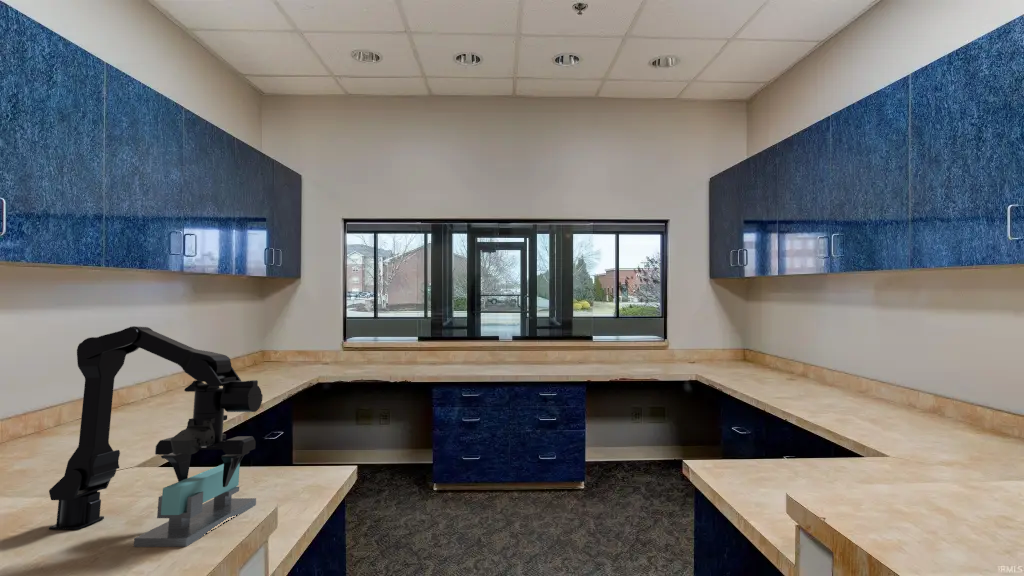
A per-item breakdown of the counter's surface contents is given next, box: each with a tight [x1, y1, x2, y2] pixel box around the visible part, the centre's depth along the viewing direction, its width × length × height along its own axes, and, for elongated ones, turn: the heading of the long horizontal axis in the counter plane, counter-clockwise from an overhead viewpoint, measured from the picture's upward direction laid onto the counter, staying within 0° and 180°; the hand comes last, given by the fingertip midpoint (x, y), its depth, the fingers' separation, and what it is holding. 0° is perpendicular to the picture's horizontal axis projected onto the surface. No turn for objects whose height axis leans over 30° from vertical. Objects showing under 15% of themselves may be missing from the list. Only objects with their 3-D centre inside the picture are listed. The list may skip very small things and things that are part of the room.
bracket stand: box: [133, 486, 257, 548], centre depth 103 cm, size 10×24×8 cm, turn 179°
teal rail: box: [161, 462, 241, 515], centre depth 104 cm, size 4×20×5 cm, turn 179°
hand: (203, 486), depth 104 cm, fingers open, 9 cm apart
